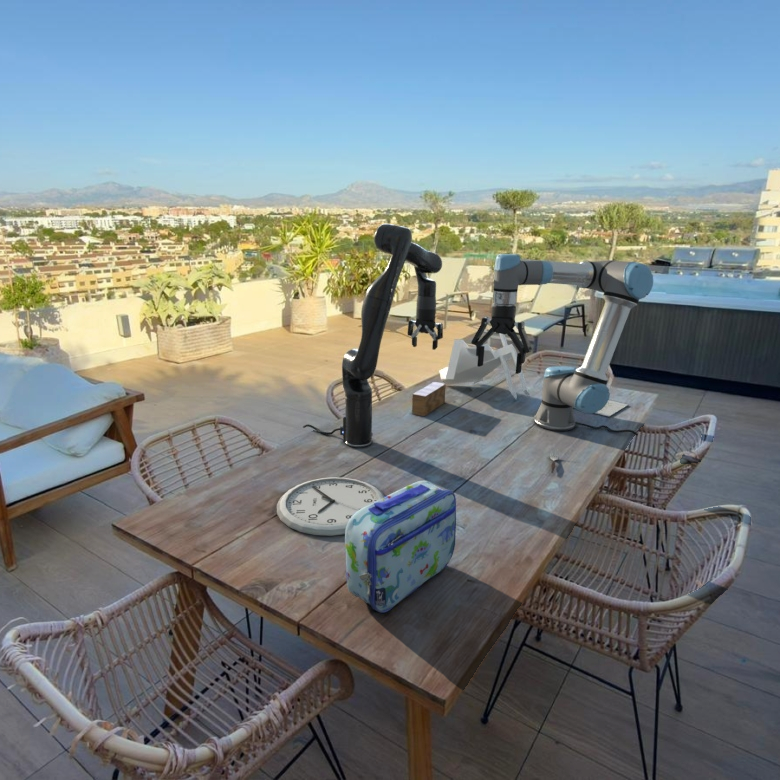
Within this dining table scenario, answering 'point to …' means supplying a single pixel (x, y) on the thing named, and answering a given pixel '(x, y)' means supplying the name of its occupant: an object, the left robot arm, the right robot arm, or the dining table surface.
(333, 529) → the wall clock
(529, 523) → the dining table surface
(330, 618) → the dining table surface
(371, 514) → the lunch box
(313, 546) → the dining table surface
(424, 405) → the box
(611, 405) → the invitation card
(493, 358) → the white plastic object
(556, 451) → the fork
